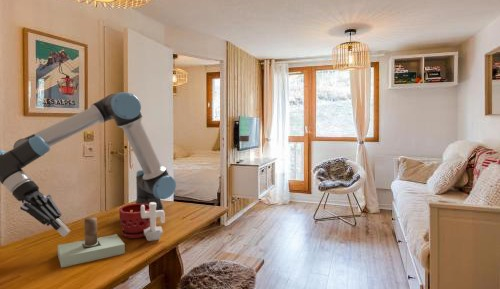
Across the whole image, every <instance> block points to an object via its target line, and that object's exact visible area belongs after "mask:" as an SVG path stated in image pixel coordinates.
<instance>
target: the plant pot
mask: <svg viewBox="0 0 500 289" xmlns="http://www.w3.org/2000/svg"><path fill="white" fill-rule="evenodd" d="M141 205H144V206H145V211H150V208H149V205H148V204H135V203H131V204H127V205H124V206H121V207H120V208H119V213H118V214H119V221H120V226H121V228H122V231H121V234H122V236H124V238H128V239H139V238H143V237H146V236H145V234H144V230H143V229H146V228H148V227H150V218H144V219H143V218H141V211H139V209H141ZM131 211H132V212H131ZM135 211H137V212H135Z"/></svg>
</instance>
